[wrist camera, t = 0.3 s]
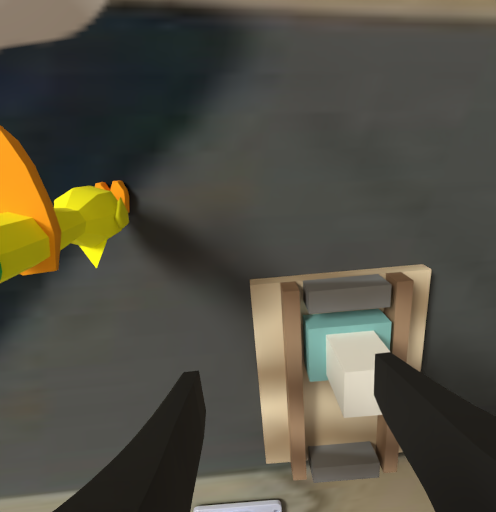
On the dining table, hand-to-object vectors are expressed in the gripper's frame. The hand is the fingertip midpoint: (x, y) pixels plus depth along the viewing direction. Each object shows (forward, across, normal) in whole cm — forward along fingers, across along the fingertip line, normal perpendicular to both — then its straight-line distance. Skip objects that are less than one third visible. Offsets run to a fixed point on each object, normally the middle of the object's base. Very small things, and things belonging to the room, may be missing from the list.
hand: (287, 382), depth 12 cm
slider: (+8, -5, +4) cm, 10 cm away
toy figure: (+9, +9, -8) cm, 15 cm away
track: (+9, -5, +7) cm, 13 cm away
